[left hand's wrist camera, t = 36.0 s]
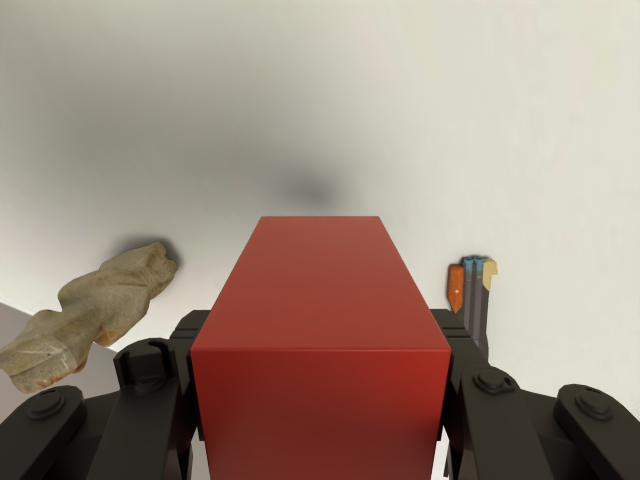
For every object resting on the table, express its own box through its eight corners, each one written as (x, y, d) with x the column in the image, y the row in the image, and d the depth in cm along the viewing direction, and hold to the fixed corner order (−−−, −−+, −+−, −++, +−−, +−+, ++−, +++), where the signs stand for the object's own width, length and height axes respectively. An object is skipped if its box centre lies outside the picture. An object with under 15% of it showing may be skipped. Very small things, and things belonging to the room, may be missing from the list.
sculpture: (101, 251, 35) (-44, 345, 21) (165, 226, 34) (56, 307, 20) (132, 298, 37) (18, 414, 23) (193, 276, 36) (112, 383, 22)
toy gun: (396, 421, 40) (489, 425, 38) (394, 264, 35) (502, 262, 33) (394, 404, 42) (481, 407, 41) (392, 255, 37) (492, 253, 36)
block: (267, 327, 16) (218, 536, 8) (260, 216, 14) (188, 349, 6) (372, 327, 16) (422, 535, 8) (379, 216, 14) (452, 349, 6)
